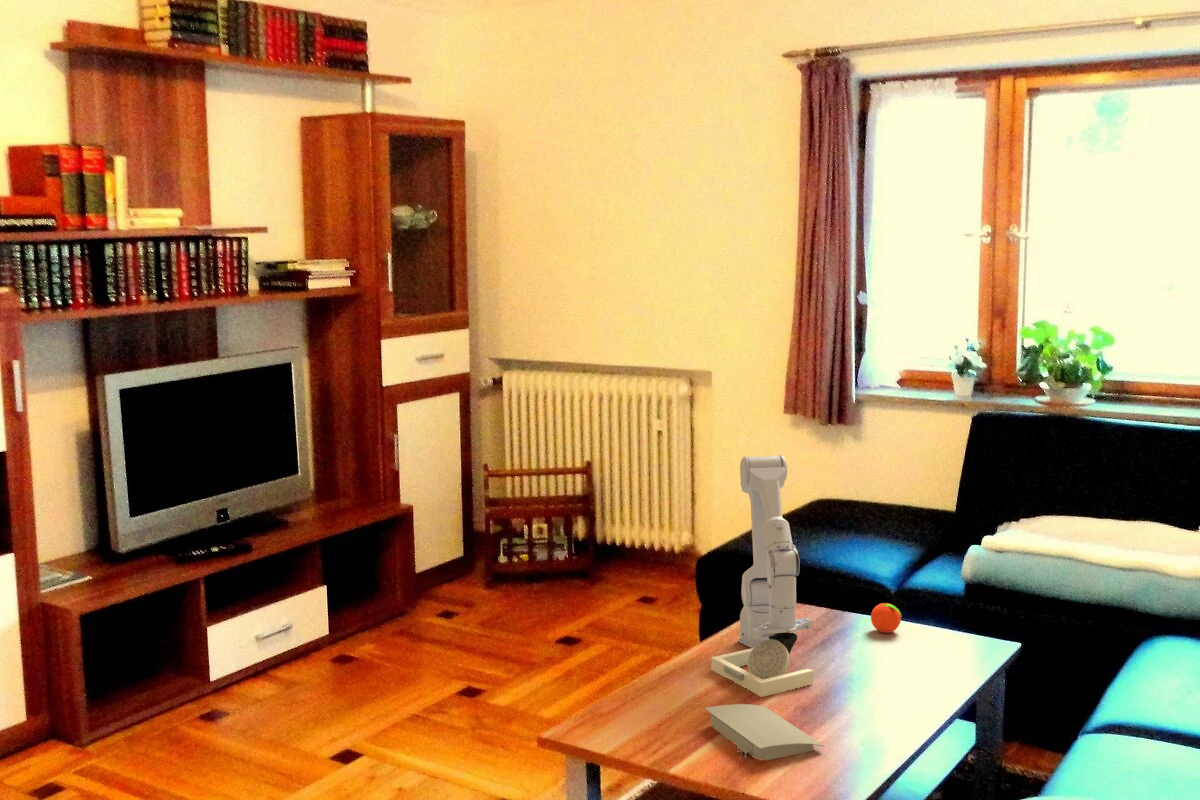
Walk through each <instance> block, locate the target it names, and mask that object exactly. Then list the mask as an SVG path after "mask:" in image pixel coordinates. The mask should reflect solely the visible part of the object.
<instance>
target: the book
mask: <svg viewBox="0 0 1200 800" xmlns="http://www.w3.org/2000/svg"><path fill="white" fill-rule="evenodd" d="M704 710H705V711H707V713H709V714H710V727H711V726H712V727H713V728H712V727H711V728H712V729H714V731H716V730H717V731H716V732H718V733H719V732H720V733H721V734H720V733H719V734H720V735H722V736H723V735H724V736H725V737H724V736H723V737H724V738H725V739H727V738H728V739H729V741H730V742H731V741H732V742H733V743H732V742H731V743H732V744H734V743H735V744H736V745H738V746H736V745H735V744H734V745H735V746H736V748H737V749H736V752H738V751H741V752H740V756H741V755H742V756H743V753H744V759H745V758H746V759H747V753H749V754H751V755H752V756H754V757H755V758H756V759H761V760H760V761H762V760H767V761H770V760H771V759H772V760H775V759H780V758H785V757H789V756H790V757H791V756H794V755H798V754H802V753H808V752H811V751H814V746H818V747H825V745H824V744H822V743H820V742H819V741H818V740H816V739H815V738H813V737H812V736H810V735H809V734H807V733H805V731H803V730H802V729H799V727H796V725H793V724H792V723H790V722H789V721H787V720H786V719H784V718H783V717H782V716H780V715H778V714H777V713H775V712H774V711H773V710H771V709H769V708H768V707H766V706H763V705H759V704H758V705H757V704H752V703H751V704H748V703H747V704H744V703H736V704H723V705H714V706H709V707H705V708H704ZM728 739H727V740H728ZM742 751H743V752H742ZM755 758H754V759H755ZM756 759H755V760H756Z"/></svg>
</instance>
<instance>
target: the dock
mask: <svg viewBox="0 0 1200 800" xmlns="http://www.w3.org/2000/svg"><path fill="white" fill-rule="evenodd" d="M752 649H753V648H747V649H742V650H738V651H733V652H730V653H723V654H720V655H715V656H711V657H710V658H711V661H710V662H711V665H710V666H711V667H710V668H711V670H713V671H715V672H716V673H715V672H714V673H715V674H717V673H718V674H717V675H719V674H720V675H719V676H721V675H722V676H721V677H723V676H724V677H726V678H728V679H730V680H732V681H734V682H735V683H734V682H733V683H734V684H736V683H737V684H739V685H741V686H742V687H741V686H740V687H741V688H743V687H744V688H743V689H745V688H747V689H748V690H747V689H746V690H747V691H749V690H750V691H752V692H753V693H752V692H751V693H752V694H754V693H755V694H754V695H756V694H757V695H756V696H758V697H760V698H764V697H768V696H771V695H772V696H773V695H775V694H776V695H777V694H780V693H783V692H787V690H788V691H792V689H793V690H796V689H795V688H797V689H801V688H804V687H803V686H805V687H808V686H807V685H809V686H813V685H814V670H812V669H810V668H806V669H801V670H797V671H794V672H789V673H785V674H784V675H780V676H775V677H771V678H767V679H763V680H762V679H761V678H759V677H757V676H755V675H753V674H751V673H749V671H747V670H745V669H743V668H741V666H742V667H745V665H746V666H748V658H749V655H750V653H751V651H752ZM713 671H712V672H713ZM724 677H723V678H724ZM726 678H725V679H726ZM728 679H727V680H728ZM730 680H729V681H730ZM732 681H731V682H732ZM737 684H736V685H737ZM812 684H813V685H812ZM739 685H738V686H739ZM800 687H801V688H800ZM750 691H749V692H750ZM763 696H764V697H763Z"/></svg>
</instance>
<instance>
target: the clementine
mask: <svg viewBox="0 0 1200 800" xmlns="http://www.w3.org/2000/svg"><path fill="white" fill-rule="evenodd" d="M902 618H903V615H902V613H901V611H900V610H899V608H897V607H896V606H895V605H893V604H891V603H888V602H883V603H879V604H877V605H875V606H874V608H873V609H872V611H871V614H870V622H871V624H872V626H873V627H874V629H876V631H879V632H880V633H884V634H888V633H889V634H890V633H892V632H894V631H896V630H897V628H899V627H900V624H901V620H902Z"/></svg>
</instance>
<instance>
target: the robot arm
mask: <svg viewBox="0 0 1200 800" xmlns="http://www.w3.org/2000/svg"><path fill="white" fill-rule="evenodd" d="M739 474H740V487H741V492H743V493H745V494H748V497H749V501H750V514H751V515H750V517H751V519H750V520H751V537H752V557H753V560H752V561H753V562H752V563H753V564H752V565H751V567H749V568H748V569H747V570H746V571H744V572H743V574H742V577H741V592H740V593H741V600H742V601H741V602H742V604H743V607H742V609H741V611H740V613H739V638H736V641H737V642H738V643H740V644H742V645H744V646H746V647H749V649H751V648H754V647H755V646H756V645H757V644H758V643H760V642H762V641H764V640H768V639H773V640H777V641H779V642H780V643H782V644H783V645H784V646H785V647H786V648H787V650H788V652H789V656H790V654H791V651H792V649H793V646H794V645H795V644H796V642H797V640H798V634H797V632H798V631H800V630H801V631H802V630H805V629H806V630H810V629H811V630H812V629H813V627H812V624H813V620H812V619H810V618H807V617H802V618H797V617H796V616H797V577H798V576H799V575H800V569H801V568H800V567H801V566H800V564H801V563H800V555H799V553H798V550H797V547H796V545H795V544H793V538H792V534H791V527H790V523H789V521H788V520H786V519H785V518H784V517H783V506H782V495H781V489H782V488H783V487H784V485H785V482H786V480H787V476H788V464H787V460H786V457H784V455H781V454H780V455H771V456H765V455H764V456H743V457H742V458H741V460H740V465H739Z"/></svg>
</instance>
